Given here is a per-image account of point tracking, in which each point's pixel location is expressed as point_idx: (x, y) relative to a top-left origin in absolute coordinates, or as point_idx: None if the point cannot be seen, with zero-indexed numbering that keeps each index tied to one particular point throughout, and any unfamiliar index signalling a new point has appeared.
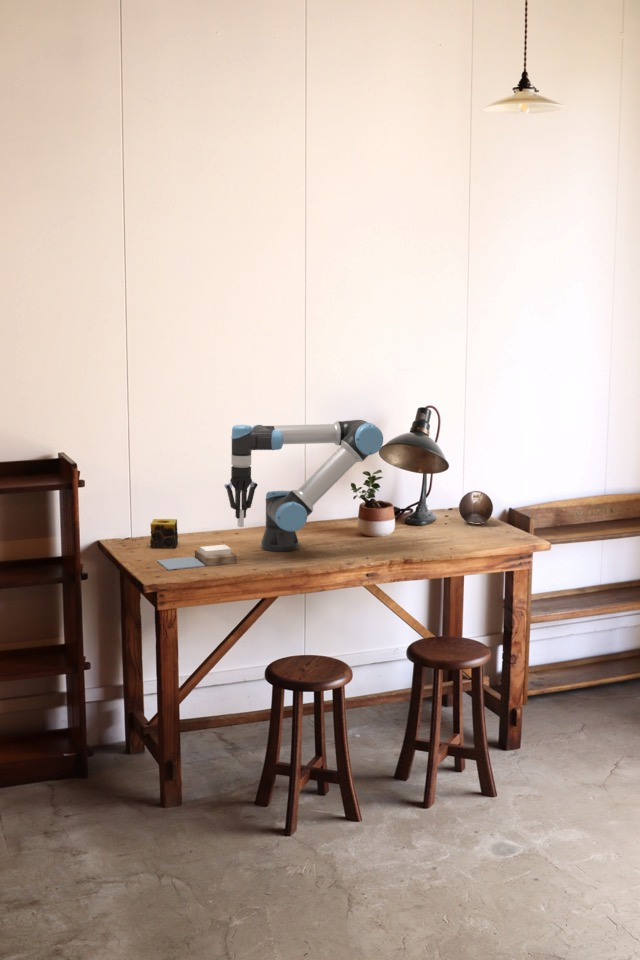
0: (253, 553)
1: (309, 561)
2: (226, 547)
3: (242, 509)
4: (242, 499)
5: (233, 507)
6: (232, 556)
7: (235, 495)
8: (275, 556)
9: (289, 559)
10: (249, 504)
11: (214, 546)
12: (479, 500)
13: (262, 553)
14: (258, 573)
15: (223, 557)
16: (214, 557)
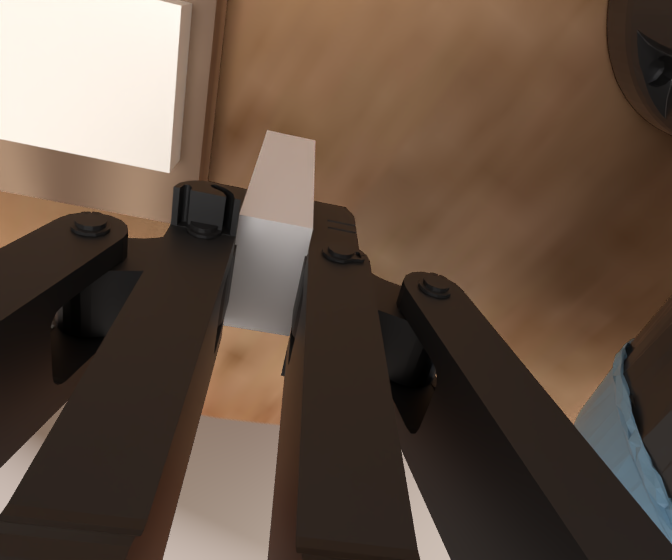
0: (462, 32)
1: (577, 379)
2: (149, 116)
3: (299, 285)
4: (291, 413)
5: (70, 336)
6: (160, 219)
7: (61, 432)
8: (521, 198)
9: (530, 298)
10: (405, 410)
11: (59, 15)
12: None
13: (514, 75)
14: (214, 416)
15: (88, 207)
16: (18, 183)
